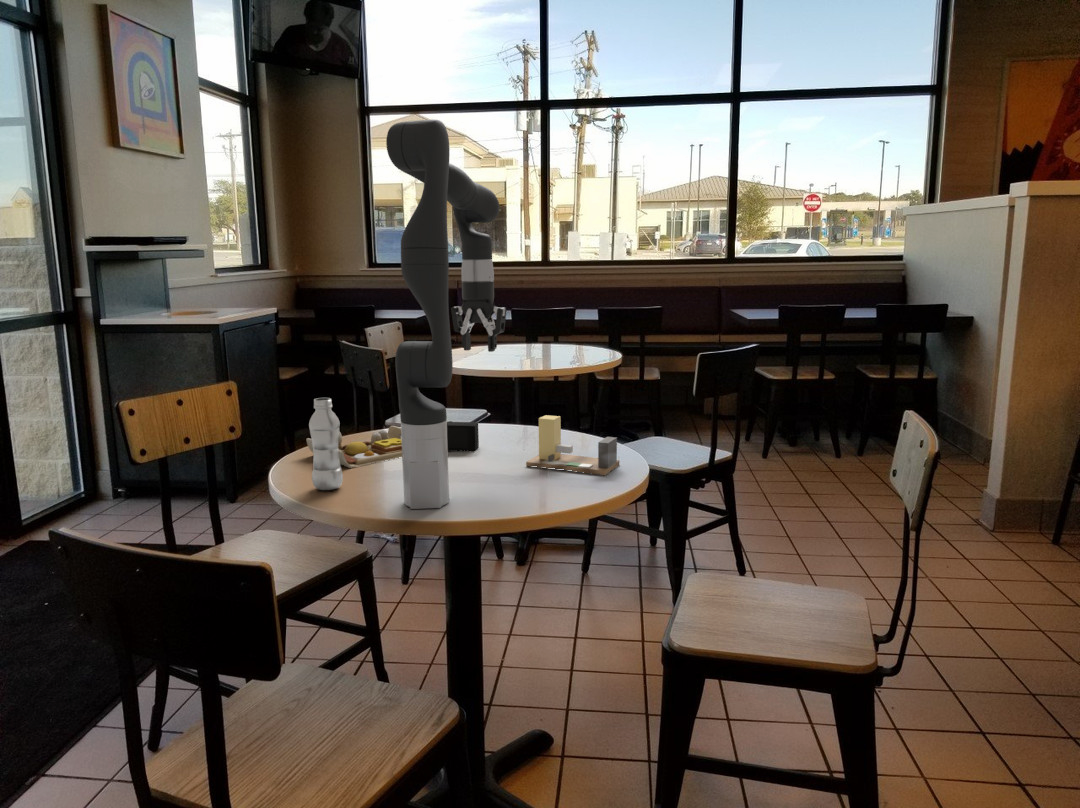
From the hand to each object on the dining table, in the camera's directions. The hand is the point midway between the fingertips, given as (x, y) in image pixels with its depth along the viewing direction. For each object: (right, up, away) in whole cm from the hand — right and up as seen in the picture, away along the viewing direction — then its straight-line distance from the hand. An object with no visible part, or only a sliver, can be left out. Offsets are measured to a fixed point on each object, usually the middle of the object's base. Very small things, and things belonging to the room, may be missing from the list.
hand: (479, 350), depth 188 cm
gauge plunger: (+18, -26, +2) cm, 32 cm away
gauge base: (+22, -28, +1) cm, 36 cm away
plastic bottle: (-32, -32, -15) cm, 47 cm away
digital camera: (-7, -25, +19) cm, 32 cm away
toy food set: (-30, -26, +15) cm, 42 cm away
